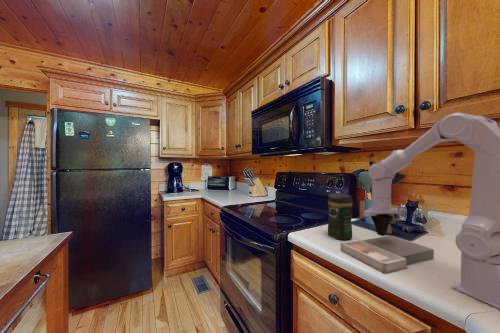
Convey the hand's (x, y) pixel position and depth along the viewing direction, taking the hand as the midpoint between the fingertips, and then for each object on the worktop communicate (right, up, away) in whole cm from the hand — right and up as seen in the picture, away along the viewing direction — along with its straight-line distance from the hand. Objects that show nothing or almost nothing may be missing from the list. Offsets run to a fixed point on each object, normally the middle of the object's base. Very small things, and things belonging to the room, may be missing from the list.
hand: (381, 234), depth 72 cm
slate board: (+4, -6, -2) cm, 7 cm away
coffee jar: (-8, -6, +15) cm, 18 cm away
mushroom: (+15, -6, +19) cm, 24 cm away
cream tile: (-7, -3, -9) cm, 12 cm away
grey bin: (-7, -6, -6) cm, 11 cm away
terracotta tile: (-10, -3, -3) cm, 11 cm away
